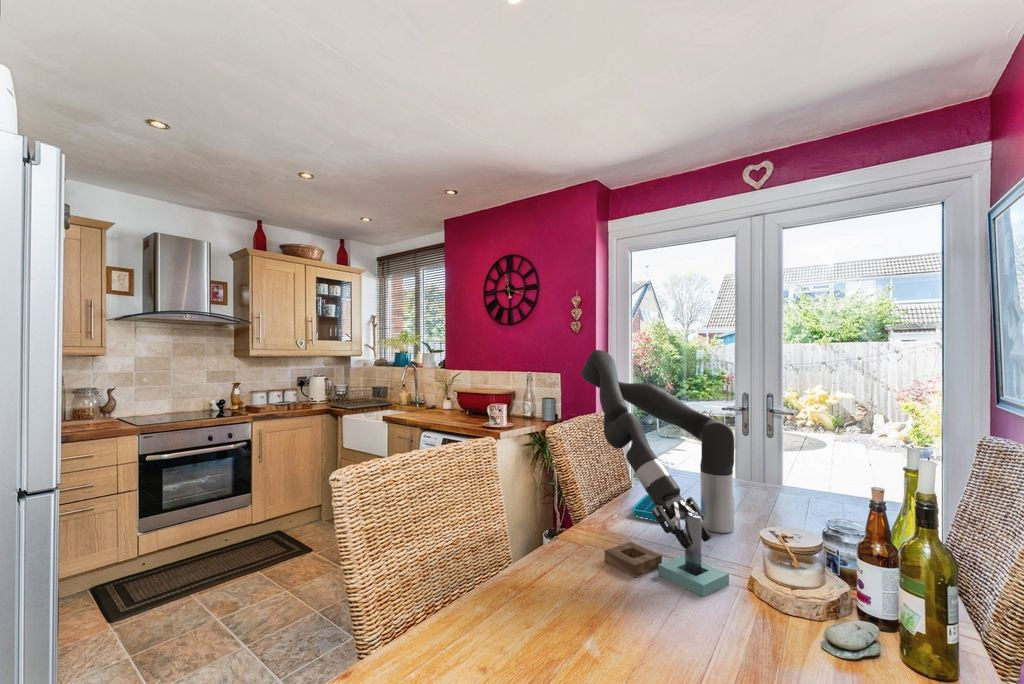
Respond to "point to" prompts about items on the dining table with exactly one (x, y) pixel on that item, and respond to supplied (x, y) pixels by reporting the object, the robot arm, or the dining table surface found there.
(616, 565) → the socket block
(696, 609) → the dining table surface
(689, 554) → the rod
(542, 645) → the dining table surface
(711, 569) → the teal square hole base
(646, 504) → the ice cube tray
